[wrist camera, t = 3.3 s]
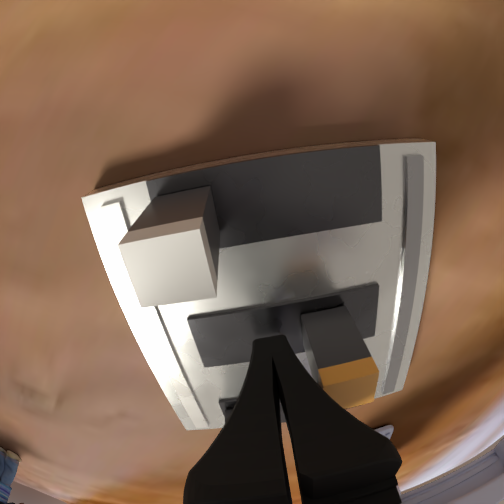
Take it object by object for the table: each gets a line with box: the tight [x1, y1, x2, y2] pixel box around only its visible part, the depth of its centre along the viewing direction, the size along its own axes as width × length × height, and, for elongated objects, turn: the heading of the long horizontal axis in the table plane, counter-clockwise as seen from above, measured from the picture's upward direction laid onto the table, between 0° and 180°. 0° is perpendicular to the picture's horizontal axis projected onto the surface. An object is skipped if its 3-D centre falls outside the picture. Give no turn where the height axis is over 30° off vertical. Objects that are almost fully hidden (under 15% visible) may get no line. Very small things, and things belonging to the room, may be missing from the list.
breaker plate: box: [82, 138, 436, 430], centre depth 14 cm, size 15×14×1 cm
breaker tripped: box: [301, 306, 379, 409], centre depth 11 cm, size 2×2×4 cm
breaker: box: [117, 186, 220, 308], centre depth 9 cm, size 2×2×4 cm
